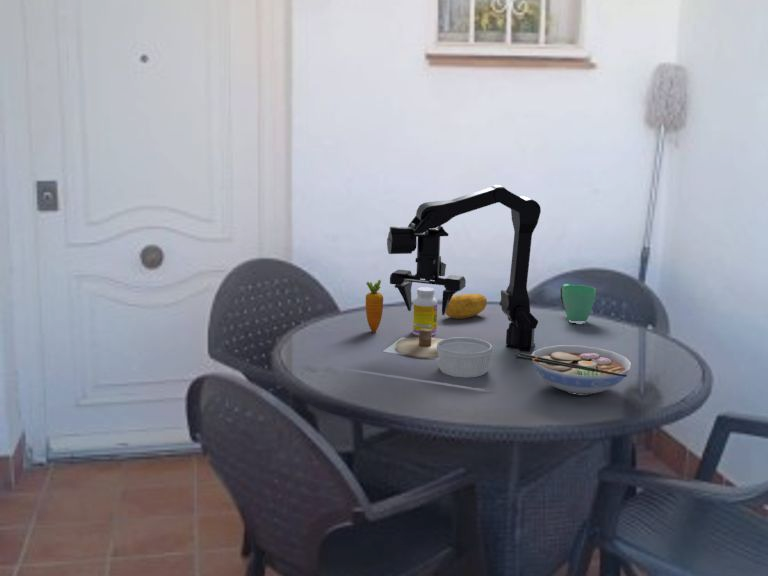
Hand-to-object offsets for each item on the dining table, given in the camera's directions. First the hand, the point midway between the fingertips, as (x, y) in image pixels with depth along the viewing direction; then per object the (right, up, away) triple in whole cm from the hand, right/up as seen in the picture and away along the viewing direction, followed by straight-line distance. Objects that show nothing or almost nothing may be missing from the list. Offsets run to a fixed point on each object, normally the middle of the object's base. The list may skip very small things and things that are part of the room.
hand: (426, 312), depth 238 cm
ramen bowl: (+34, -17, -24) cm, 45 cm away
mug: (+45, -3, +35) cm, 57 cm away
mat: (0, -10, +2) cm, 10 cm away
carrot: (-14, -6, +17) cm, 23 cm away
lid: (0, -9, +2) cm, 10 cm away
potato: (+13, -3, +35) cm, 37 cm away
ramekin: (+8, -14, -13) cm, 21 cm away
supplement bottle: (0, -7, +17) cm, 18 cm away
